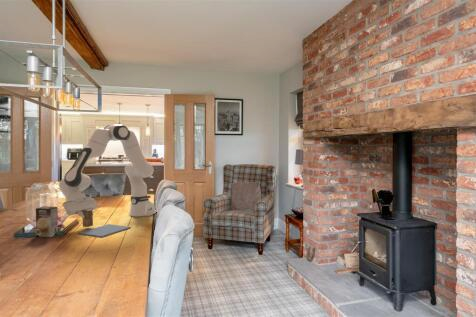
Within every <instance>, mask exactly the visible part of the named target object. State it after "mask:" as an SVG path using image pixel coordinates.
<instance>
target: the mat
mask: <svg viewBox="0 0 476 317" xmlns="http://www.w3.org/2000/svg"><path fill="white" fill-rule="evenodd" d="M129 229H131V226H126V225H119V224H110V223H108V224H104V225H101V226H97V227H94V228H90V229H87V230H84V231H81V232H78V235H83V236H88V237H94V238H95V237H97V238H105V237H108V236H112V235H115V234H117V233H121V232H123V231H126V230H129Z"/></svg>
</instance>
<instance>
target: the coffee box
mask: <svg viewBox="0 0 476 317" xmlns="http://www.w3.org/2000/svg"><path fill="white" fill-rule="evenodd" d="M58 209H59V208H58V206H41V207H37V208H35V235H36V234H37V235H38V236H39V237H40V238H52V237H54V235H55V233H56V232H57V231H58V232H59V230H58V229H59V228H58V227H59V226H58V224H59V223H58V221H59V220H58V219H59V217H58V216H59V215H58V214H59V213H58V211H59V210H58ZM55 236H56V235H55ZM39 237H38V238H39Z"/></svg>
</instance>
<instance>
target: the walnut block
mask: <svg viewBox="0 0 476 317" xmlns="http://www.w3.org/2000/svg"><path fill="white" fill-rule="evenodd" d="M93 212H94V210H92V209H86V210H82V214H85V215H86V217H85V218H82V227H84V228H89V227H90V228H91V227H92V226H94V213H93Z"/></svg>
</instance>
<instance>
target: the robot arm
mask: <svg viewBox="0 0 476 317" xmlns="http://www.w3.org/2000/svg"><path fill="white" fill-rule="evenodd" d="M89 138H90V139H89V141H88V142H87V144H86V145H85V147H84V148H82V150H81V151H80V152H79V154H78V156H77V157H76V159H75V160H74V163H73V164H72V165H71V167H70V169H68V171H66V173H65V175H64V177H63V178H62V179H61V180H60V181H59V184H58V187H59V189H60V191H61V192H62V194H63V196H64V197H65V198H66V200H67V201H63V203H62V206H63V208H64V210H65V212H66V214H67V215H68V216H73V215H78V216H79V217H81V218H82V219H83V218H85V217H86V215H85V214H82V210H86V209H92V210H93V211H95V210H96V209H98V207H99V204H98V202H97V201H96V200H95V199H94V198H93V197H92V195H91V194H90V193H83V191H86V190H87V189H89V187H90V186H91V185H92V178H91V177H90V176H89V175H87V174H86V173H83V170H84V168H85V166H86V165H87V163H88V162H89V160H91V159H92V158H93V159H94V158H99V157H101V156H103V154H104V152H105V151H106V148H107V147H108V143H109V142H110V141H114V142H115V141H120V142H121V144H122V147H123V151H124V154H125V157H126V159H127V160H129V161H130V163H127V164H126V165H125V166H124V173H125V175H126V176H127V177H128V180H129V183H130V191H131V194H130V195H131V196H130V202H131V203H130V208H129V213H128V214H129V216H130V217H149V216H152V215H154V214H156V210H157V209H156V206H155V204H154V203H153V202H152V201H151V200H149V199H151V198H152V197H151V195H148V186H147V183H146V182H145V180H144V179H146V178H148V177H151V176H153V174H154V171H155V170H154V166H153V165H152V164H150V162H149V161H148V160H147V159H146V157H145V156H144V154H143V152H142V150H141V146H140V143H139V141H138V138H137V136H136V134H135V132H134V131H133V130H131V129H130V130H129V128H128V127H127V126H125V125H124V124H111V125H109V124H108V125H106V126H104V127H99V128H96V129H95V130H94V131H93V133H92V134H91V136H90V137H89Z"/></svg>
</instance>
